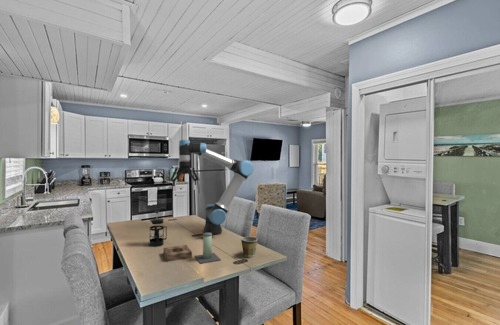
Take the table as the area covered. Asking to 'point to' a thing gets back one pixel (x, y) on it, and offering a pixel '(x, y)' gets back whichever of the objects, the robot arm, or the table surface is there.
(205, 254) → the plug
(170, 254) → the socket block
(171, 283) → the table surface
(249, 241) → the ceramic cup
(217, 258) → the mat
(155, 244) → the french press
